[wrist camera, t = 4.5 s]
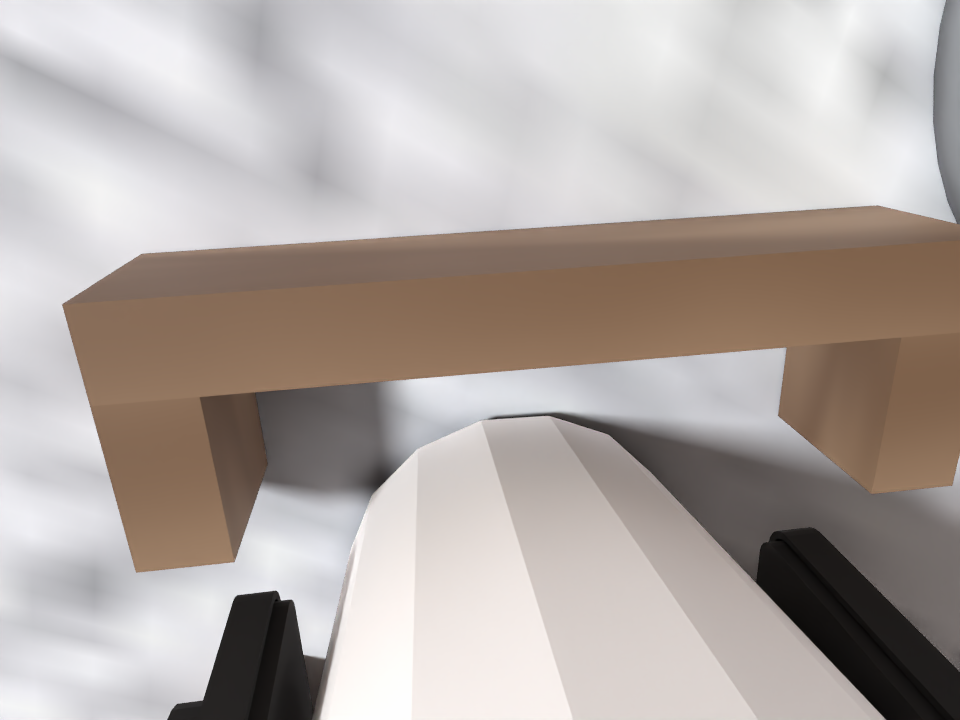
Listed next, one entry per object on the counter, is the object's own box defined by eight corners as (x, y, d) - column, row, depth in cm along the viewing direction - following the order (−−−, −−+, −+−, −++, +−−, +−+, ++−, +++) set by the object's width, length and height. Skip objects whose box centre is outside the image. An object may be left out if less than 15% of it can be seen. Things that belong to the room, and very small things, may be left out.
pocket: (791, 727, 15) (866, 845, 12) (264, 800, 14) (238, 944, 11) (877, 205, 11) (1011, 236, 8) (142, 253, 10) (62, 304, 7)
